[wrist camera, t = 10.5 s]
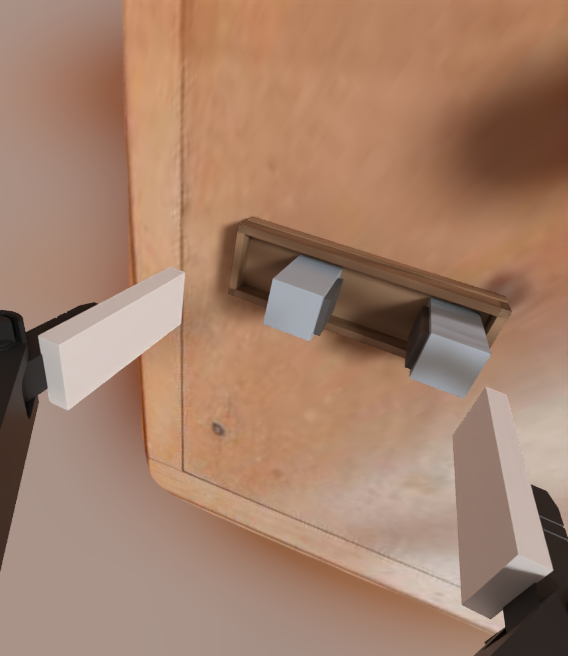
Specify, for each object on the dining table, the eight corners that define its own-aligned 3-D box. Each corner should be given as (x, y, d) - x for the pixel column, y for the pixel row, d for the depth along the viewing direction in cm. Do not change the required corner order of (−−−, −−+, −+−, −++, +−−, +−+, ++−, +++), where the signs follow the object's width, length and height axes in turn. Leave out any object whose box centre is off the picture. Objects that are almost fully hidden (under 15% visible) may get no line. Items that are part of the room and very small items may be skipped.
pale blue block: (300, 254, 38) (272, 278, 31) (348, 269, 37) (330, 298, 30) (291, 293, 40) (263, 323, 33) (335, 308, 39) (316, 343, 32)
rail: (253, 216, 39) (207, 235, 31) (505, 296, 34) (528, 342, 26) (241, 284, 43) (199, 316, 35) (466, 364, 38) (475, 422, 30)
